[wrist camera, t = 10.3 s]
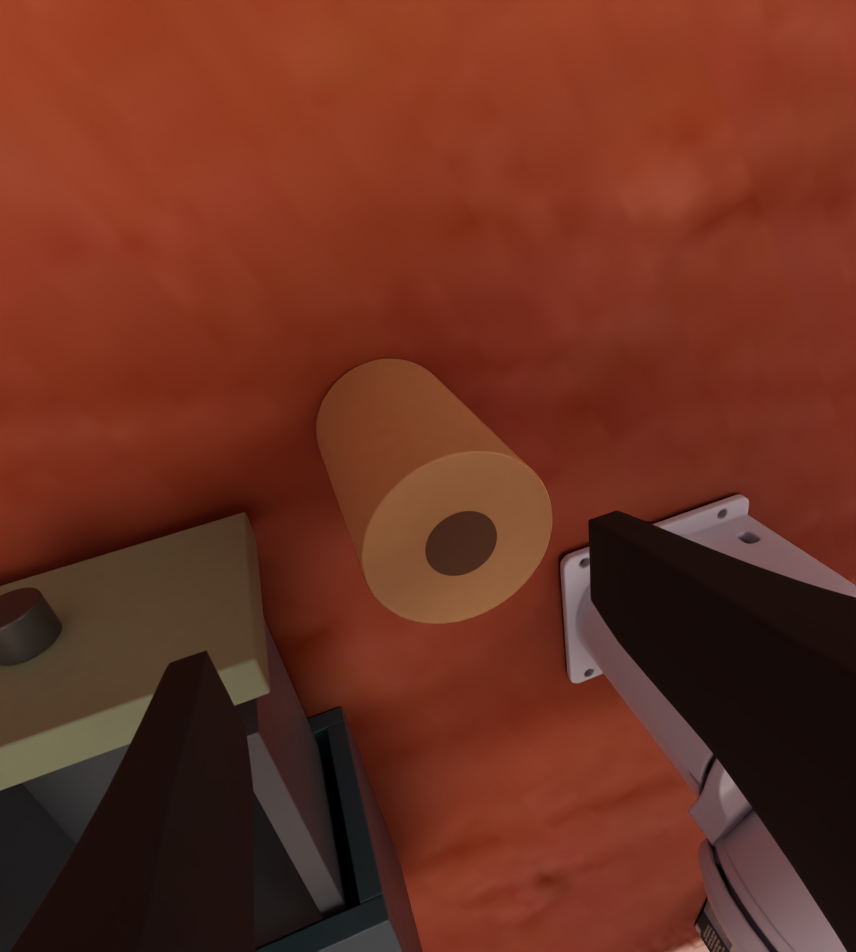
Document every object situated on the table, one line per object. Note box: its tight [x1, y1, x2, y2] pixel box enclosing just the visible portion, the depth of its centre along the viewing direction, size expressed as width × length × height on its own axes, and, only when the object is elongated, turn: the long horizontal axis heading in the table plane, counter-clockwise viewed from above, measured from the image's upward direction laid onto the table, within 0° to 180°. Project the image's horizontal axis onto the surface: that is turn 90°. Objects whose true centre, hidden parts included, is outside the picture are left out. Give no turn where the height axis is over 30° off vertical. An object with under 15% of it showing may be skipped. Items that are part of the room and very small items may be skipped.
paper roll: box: [316, 359, 552, 624], centre depth 17 cm, size 5×5×8 cm
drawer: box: [0, 512, 350, 952], centre depth 18 cm, size 14×11×7 cm
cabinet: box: [255, 707, 423, 952], centre depth 24 cm, size 14×13×9 cm
